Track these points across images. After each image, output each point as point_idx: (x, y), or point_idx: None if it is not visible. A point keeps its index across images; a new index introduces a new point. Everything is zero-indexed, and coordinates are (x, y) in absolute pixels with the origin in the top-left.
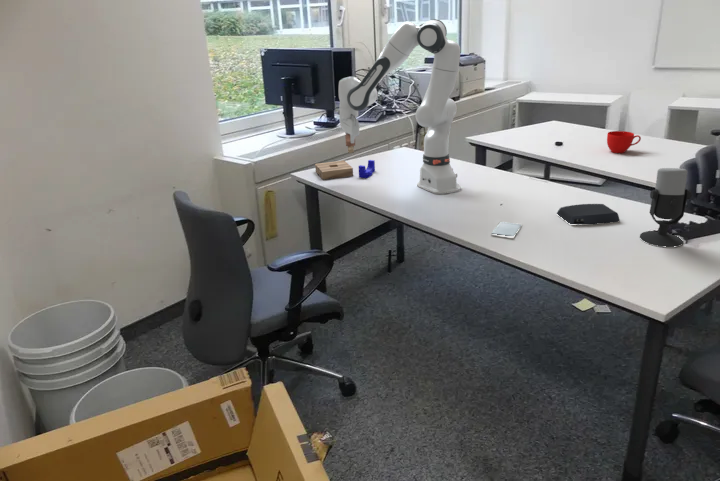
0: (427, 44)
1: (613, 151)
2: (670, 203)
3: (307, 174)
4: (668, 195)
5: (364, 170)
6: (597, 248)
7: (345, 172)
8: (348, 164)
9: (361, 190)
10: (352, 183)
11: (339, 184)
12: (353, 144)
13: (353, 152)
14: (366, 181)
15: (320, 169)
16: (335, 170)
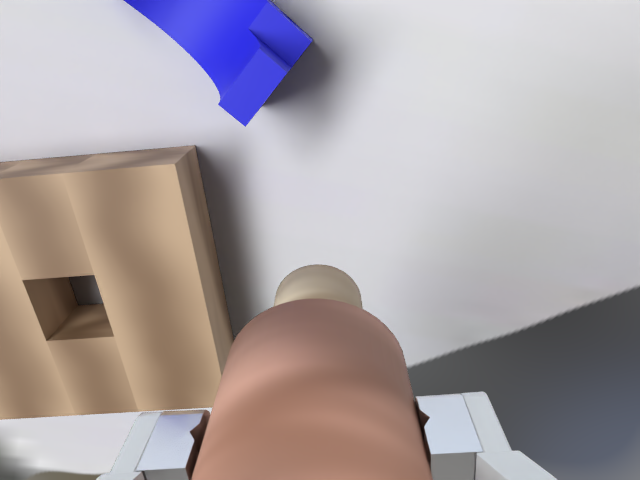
0: None
1: None
2: None
3: (91, 428)
4: None
5: (280, 60)
6: None
7: (198, 222)
8: (37, 178)
9: (619, 164)
10: (411, 194)
11: (394, 285)
12: (404, 362)
13: (346, 274)
14: (408, 68)
15: (156, 407)
16: (208, 314)
